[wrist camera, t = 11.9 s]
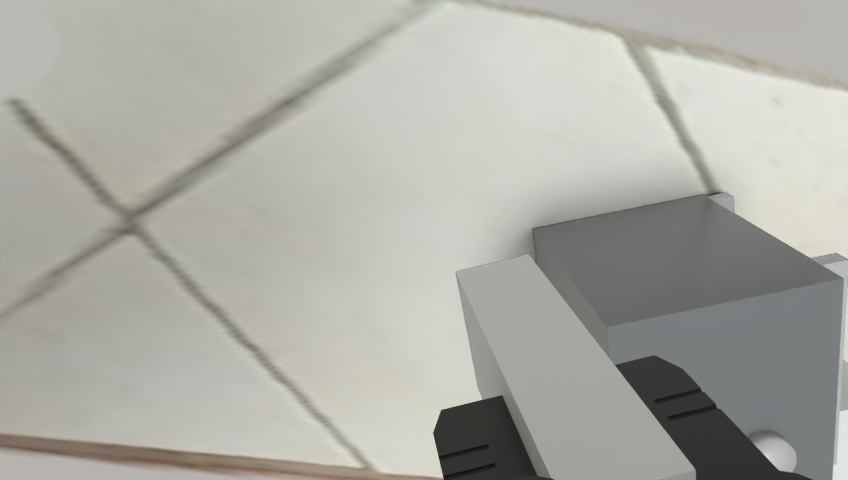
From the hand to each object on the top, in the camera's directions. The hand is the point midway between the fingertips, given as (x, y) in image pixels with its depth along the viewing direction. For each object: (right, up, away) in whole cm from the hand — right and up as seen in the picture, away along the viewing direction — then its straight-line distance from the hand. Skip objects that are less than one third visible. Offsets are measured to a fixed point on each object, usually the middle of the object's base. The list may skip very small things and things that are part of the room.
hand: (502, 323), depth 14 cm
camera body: (+11, -2, +28) cm, 30 cm away
